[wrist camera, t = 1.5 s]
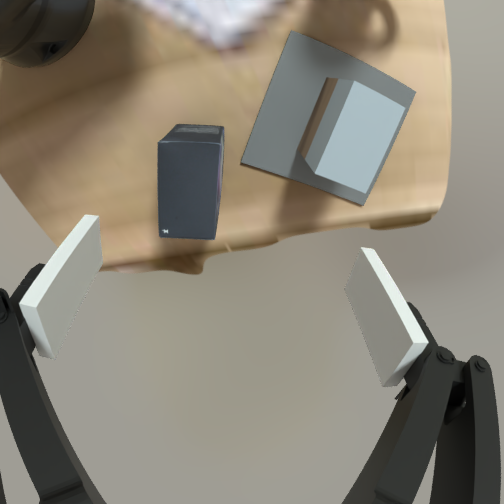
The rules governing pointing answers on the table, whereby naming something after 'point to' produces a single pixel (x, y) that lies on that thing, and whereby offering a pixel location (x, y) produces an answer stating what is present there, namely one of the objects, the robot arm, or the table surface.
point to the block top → (353, 135)
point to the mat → (301, 106)
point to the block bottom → (316, 115)
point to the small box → (190, 181)
